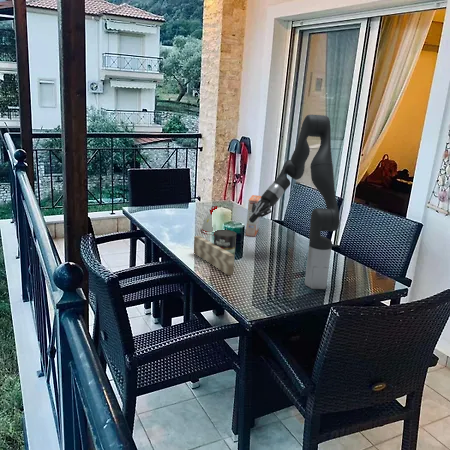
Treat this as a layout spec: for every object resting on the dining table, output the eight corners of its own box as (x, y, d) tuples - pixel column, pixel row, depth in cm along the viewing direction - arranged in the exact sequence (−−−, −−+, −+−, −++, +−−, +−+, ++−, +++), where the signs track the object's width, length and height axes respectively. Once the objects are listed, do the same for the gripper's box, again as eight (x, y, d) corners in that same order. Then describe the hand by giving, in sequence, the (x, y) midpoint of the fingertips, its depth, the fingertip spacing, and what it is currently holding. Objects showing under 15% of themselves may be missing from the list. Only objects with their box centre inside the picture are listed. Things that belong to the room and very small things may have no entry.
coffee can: (231, 266, 207) (233, 237, 203) (209, 263, 209) (211, 234, 205) (236, 259, 217) (238, 231, 213) (215, 256, 219) (217, 228, 215)
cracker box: (255, 237, 253) (258, 200, 247) (245, 235, 254) (248, 199, 248) (259, 230, 266) (262, 195, 260) (249, 229, 267) (251, 194, 262)
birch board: (233, 274, 198) (234, 255, 196) (228, 275, 197) (229, 255, 194) (198, 253, 222) (198, 235, 219) (193, 253, 220) (194, 236, 218)
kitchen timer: (196, 230, 258) (198, 205, 254) (214, 227, 268) (215, 202, 264) (213, 236, 249) (215, 210, 245) (231, 232, 259) (232, 207, 254)
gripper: (260, 186, 222) (238, 213, 218) (278, 192, 212) (255, 219, 208) (268, 196, 226) (246, 222, 223) (285, 202, 216) (263, 229, 212)
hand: (250, 221), depth 215 cm, fingers closed
